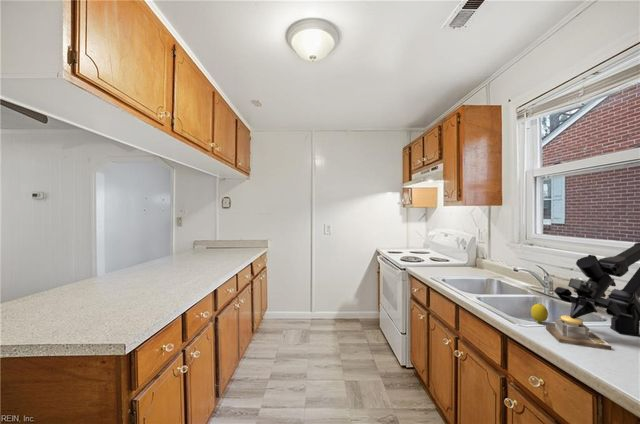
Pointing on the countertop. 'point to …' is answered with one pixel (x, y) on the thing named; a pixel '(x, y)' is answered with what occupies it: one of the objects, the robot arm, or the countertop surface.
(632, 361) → the countertop surface
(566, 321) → the button
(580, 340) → the board
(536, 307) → the lemon
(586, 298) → the robot arm
